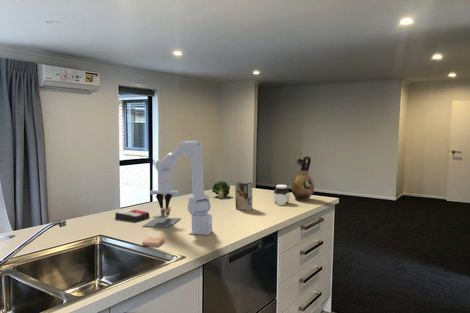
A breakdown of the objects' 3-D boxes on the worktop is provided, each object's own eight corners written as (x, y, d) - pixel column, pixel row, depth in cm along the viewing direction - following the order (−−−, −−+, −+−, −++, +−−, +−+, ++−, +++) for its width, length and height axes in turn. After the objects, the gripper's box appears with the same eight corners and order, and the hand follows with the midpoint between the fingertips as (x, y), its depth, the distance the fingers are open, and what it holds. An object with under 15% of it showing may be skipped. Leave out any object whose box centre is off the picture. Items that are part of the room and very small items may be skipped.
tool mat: (180, 219, 199) (180, 218, 199) (169, 228, 181) (169, 227, 181) (156, 218, 202) (156, 217, 202) (142, 226, 184) (142, 225, 184)
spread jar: (284, 201, 247) (284, 184, 246) (294, 204, 236) (294, 186, 235) (269, 203, 241) (269, 185, 240) (278, 206, 231) (278, 188, 230)
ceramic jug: (303, 202, 241) (304, 157, 238) (286, 199, 253) (286, 156, 250) (320, 199, 251) (320, 156, 249) (302, 196, 263) (303, 155, 261)
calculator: (135, 216, 193) (115, 211, 200) (135, 223, 194) (114, 219, 201) (149, 211, 203) (129, 207, 210) (149, 219, 204) (129, 215, 210)
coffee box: (253, 208, 225) (252, 182, 224) (248, 210, 219) (248, 184, 218) (239, 207, 229) (239, 181, 228) (235, 209, 223) (234, 183, 222)
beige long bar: (163, 214, 200) (163, 206, 201) (173, 215, 199) (173, 207, 199) (152, 217, 187) (153, 209, 187) (164, 218, 185) (164, 209, 186)
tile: (164, 238, 160) (157, 242, 153) (164, 242, 160) (157, 247, 153) (148, 237, 161) (142, 242, 154) (149, 241, 161) (142, 246, 154)
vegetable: (208, 195, 257) (210, 183, 270) (220, 206, 262) (221, 194, 274) (220, 186, 253) (222, 174, 265) (233, 197, 257) (233, 185, 270)
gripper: (179, 181, 195) (179, 206, 197) (153, 181, 198) (154, 206, 199) (175, 183, 189) (175, 209, 190) (148, 183, 191) (149, 208, 192)
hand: (164, 208), depth 194 cm, fingers closed on beige long bar, 2 cm apart
